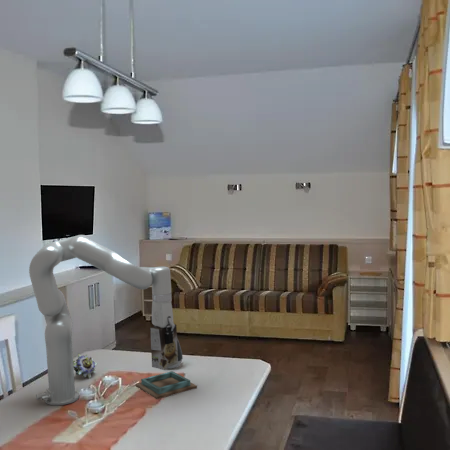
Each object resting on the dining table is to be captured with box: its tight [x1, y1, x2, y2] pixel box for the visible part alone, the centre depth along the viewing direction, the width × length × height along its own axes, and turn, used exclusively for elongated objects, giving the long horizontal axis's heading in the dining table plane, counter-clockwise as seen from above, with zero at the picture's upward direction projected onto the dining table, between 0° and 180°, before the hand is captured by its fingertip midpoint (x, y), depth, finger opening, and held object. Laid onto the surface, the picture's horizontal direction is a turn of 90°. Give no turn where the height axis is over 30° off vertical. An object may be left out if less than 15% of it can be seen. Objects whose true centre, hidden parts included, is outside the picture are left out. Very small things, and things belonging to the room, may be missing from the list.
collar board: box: [135, 370, 198, 400], centre depth 218 cm, size 18×18×3 cm
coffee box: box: [149, 323, 178, 371], centre depth 217 cm, size 9×6×16 cm
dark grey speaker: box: [167, 338, 184, 370], centre depth 242 cm, size 10×10×15 cm
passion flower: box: [73, 353, 98, 379], centre depth 235 cm, size 11×11×12 cm
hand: (164, 341), depth 217 cm, fingers closed on coffee box, 7 cm apart
